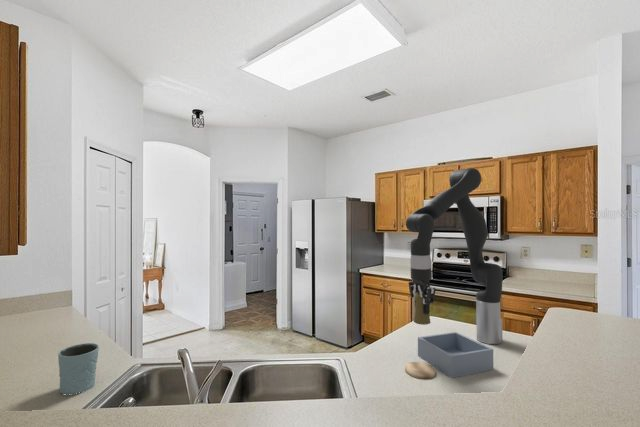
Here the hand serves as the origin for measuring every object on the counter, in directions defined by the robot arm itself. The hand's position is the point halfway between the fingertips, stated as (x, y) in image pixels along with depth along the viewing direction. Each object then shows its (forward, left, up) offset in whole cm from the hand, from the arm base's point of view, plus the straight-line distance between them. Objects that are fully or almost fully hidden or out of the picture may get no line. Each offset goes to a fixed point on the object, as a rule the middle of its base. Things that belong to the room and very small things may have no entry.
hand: (421, 311), depth 120 cm
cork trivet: (+7, +9, -17) cm, 21 cm away
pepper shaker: (0, 0, -4) cm, 4 cm away
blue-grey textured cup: (+114, -16, -18) cm, 117 cm away
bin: (-9, +7, -17) cm, 21 cm away
